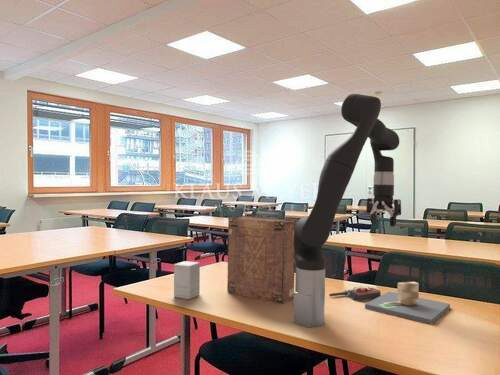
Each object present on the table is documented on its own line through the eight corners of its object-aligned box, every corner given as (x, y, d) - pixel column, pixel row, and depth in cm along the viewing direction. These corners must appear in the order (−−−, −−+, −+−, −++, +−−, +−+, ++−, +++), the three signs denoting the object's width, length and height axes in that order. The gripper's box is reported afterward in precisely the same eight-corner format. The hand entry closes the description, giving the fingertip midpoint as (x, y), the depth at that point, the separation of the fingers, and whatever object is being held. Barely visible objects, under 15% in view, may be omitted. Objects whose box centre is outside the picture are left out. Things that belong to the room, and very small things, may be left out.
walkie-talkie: (369, 292, 153) (327, 297, 145) (369, 282, 153) (327, 286, 145) (384, 299, 145) (341, 304, 137) (384, 287, 145) (341, 292, 137)
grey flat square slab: (431, 324, 118) (431, 319, 118) (364, 308, 132) (365, 303, 132) (449, 308, 134) (450, 303, 134) (389, 295, 149) (389, 291, 149)
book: (226, 292, 150) (227, 217, 149) (239, 286, 157) (241, 215, 157) (282, 304, 136) (284, 221, 135) (294, 297, 143) (295, 219, 143)
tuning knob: (410, 299, 137) (410, 280, 137) (422, 304, 131) (422, 284, 131) (378, 302, 133) (378, 282, 133) (389, 307, 127) (389, 286, 127)
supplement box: (200, 294, 145) (200, 262, 145) (189, 299, 139) (189, 265, 138) (184, 292, 148) (184, 260, 148) (173, 297, 142) (173, 263, 142)
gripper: (405, 184, 141) (405, 226, 141) (374, 183, 153) (374, 223, 153) (393, 183, 137) (392, 227, 137) (362, 183, 149) (361, 224, 149)
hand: (382, 225), depth 145 cm, fingers open, 8 cm apart
